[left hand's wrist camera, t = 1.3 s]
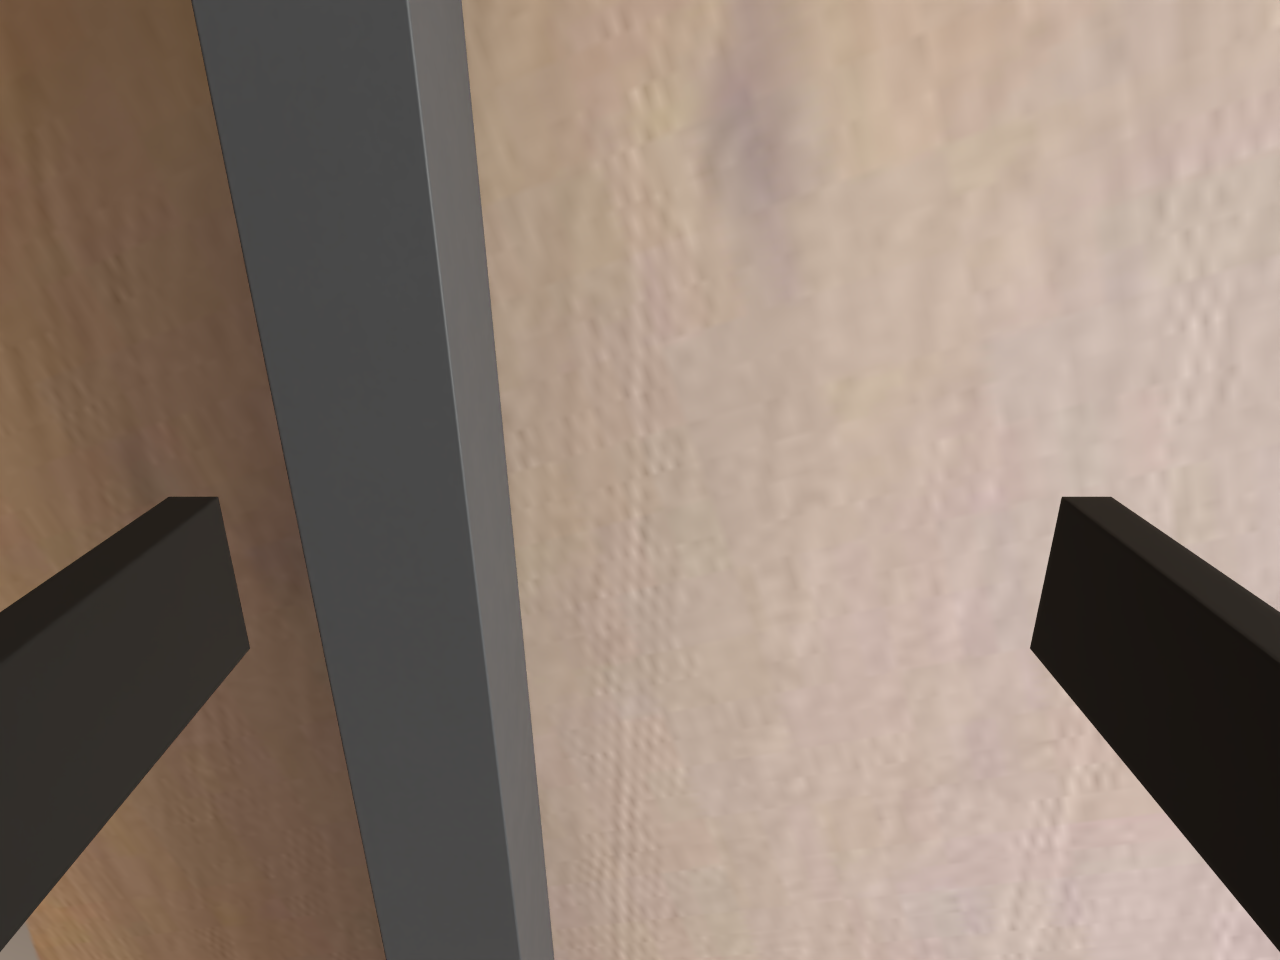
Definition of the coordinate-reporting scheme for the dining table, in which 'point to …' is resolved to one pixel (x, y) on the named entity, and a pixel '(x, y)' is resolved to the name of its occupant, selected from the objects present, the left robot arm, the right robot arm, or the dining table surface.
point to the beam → (392, 442)
